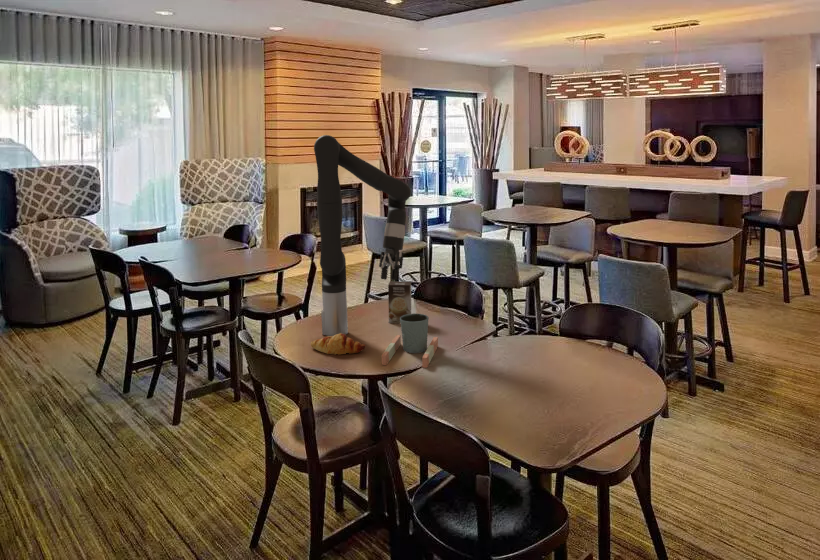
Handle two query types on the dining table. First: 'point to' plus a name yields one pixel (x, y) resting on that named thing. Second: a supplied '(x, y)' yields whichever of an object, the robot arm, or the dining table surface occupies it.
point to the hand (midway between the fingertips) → (388, 279)
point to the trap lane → (397, 342)
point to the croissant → (337, 345)
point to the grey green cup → (414, 332)
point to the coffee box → (399, 300)
